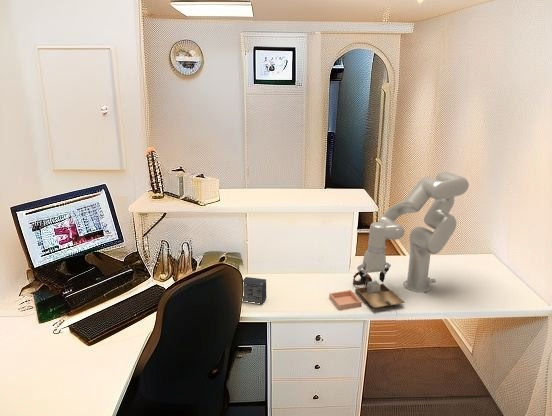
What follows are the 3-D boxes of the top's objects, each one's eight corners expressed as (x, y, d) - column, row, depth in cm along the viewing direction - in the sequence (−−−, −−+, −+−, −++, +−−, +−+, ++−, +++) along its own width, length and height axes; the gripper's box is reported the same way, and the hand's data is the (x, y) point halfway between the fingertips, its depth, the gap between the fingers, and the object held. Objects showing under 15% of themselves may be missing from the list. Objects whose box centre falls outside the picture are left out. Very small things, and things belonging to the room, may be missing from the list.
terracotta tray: (350, 295, 206) (351, 290, 205) (361, 307, 196) (361, 301, 195) (329, 299, 203) (329, 293, 202) (338, 311, 193) (339, 305, 192)
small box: (267, 298, 204) (266, 278, 201) (263, 305, 198) (262, 285, 195) (246, 295, 207) (245, 276, 204) (241, 302, 201) (241, 282, 198)
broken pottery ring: (375, 290, 212) (369, 279, 208) (358, 296, 215) (351, 285, 211) (372, 274, 222) (366, 263, 218) (355, 280, 225) (349, 269, 221)
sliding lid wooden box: (383, 289, 212) (383, 282, 210) (404, 309, 194) (405, 301, 193) (354, 294, 207) (355, 286, 206) (373, 314, 190) (374, 306, 189)
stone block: (375, 291, 208) (375, 280, 206) (379, 296, 204) (380, 285, 202) (366, 293, 207) (367, 282, 205) (371, 297, 203) (372, 286, 201)
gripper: (388, 244, 204) (384, 276, 209) (355, 247, 199) (352, 280, 204) (396, 250, 197) (392, 283, 202) (362, 253, 192) (359, 287, 197)
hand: (372, 281), depth 203 cm, fingers open, 9 cm apart
